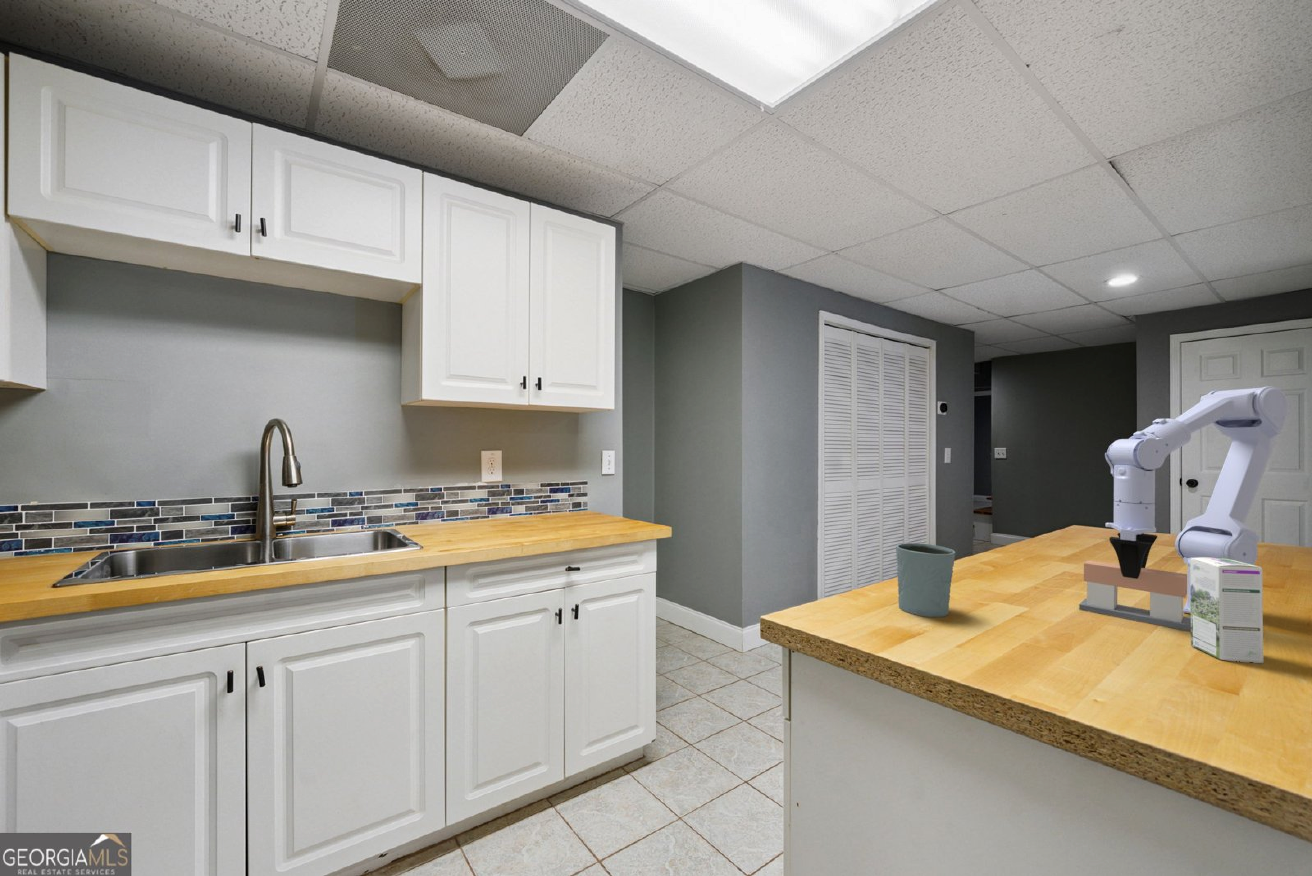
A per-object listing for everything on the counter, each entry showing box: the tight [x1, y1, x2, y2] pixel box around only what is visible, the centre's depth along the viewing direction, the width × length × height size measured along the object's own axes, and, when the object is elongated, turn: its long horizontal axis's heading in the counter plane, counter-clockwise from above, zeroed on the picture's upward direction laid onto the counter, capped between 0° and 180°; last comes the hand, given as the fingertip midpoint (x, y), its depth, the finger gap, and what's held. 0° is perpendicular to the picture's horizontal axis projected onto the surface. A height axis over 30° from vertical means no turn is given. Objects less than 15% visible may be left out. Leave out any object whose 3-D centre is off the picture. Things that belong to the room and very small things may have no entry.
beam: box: [1083, 559, 1188, 599], centre depth 98 cm, size 4×14×4 cm, turn 41°
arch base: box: [1078, 581, 1191, 632], centre depth 98 cm, size 6×15×6 cm, turn 41°
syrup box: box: [1190, 557, 1264, 664], centre depth 81 cm, size 6×6×14 cm
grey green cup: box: [895, 542, 956, 618], centre depth 101 cm, size 10×10×12 cm
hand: (1133, 574), depth 98 cm, fingers open, 7 cm apart
